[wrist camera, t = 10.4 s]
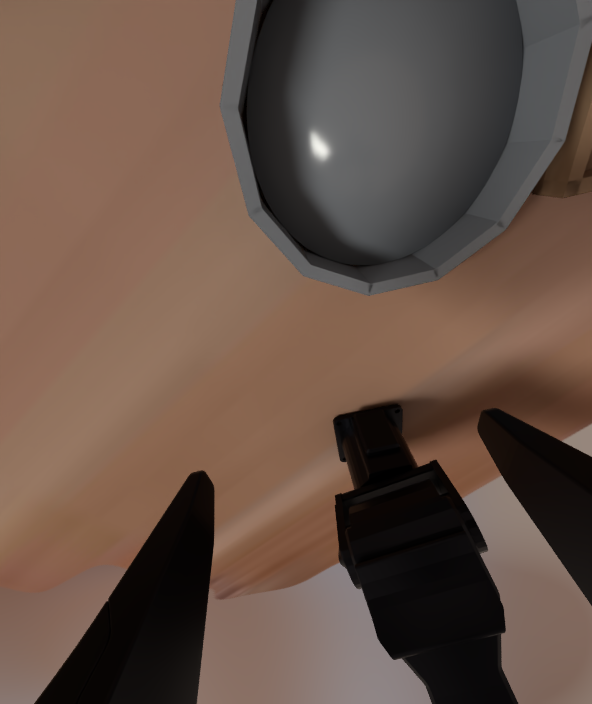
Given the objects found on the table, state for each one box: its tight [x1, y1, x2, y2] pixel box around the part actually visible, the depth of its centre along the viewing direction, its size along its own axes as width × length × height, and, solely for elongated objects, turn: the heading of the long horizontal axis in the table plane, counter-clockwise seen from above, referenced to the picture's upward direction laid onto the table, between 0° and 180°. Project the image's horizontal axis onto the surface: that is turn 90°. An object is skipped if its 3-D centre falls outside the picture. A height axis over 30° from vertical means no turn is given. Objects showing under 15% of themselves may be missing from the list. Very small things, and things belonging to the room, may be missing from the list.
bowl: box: [220, 0, 592, 296], centre depth 14 cm, size 15×15×3 cm
